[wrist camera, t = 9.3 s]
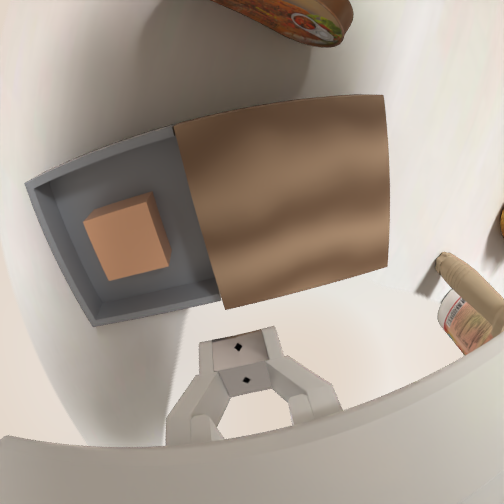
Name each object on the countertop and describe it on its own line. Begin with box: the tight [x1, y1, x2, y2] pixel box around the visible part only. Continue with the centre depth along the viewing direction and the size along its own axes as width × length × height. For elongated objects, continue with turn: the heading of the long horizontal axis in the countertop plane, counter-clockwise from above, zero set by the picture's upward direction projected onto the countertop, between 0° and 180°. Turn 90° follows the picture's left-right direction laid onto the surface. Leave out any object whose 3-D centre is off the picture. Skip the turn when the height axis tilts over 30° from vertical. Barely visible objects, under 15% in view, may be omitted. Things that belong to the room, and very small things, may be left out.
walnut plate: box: [174, 94, 390, 310], centre depth 25 cm, size 16×16×5 cm
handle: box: [435, 252, 504, 338], centre depth 28 cm, size 5×6×15 cm
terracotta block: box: [83, 191, 172, 281], centre depth 25 cm, size 6×6×3 cm
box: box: [25, 124, 221, 327], centre depth 25 cm, size 16×14×4 cm
